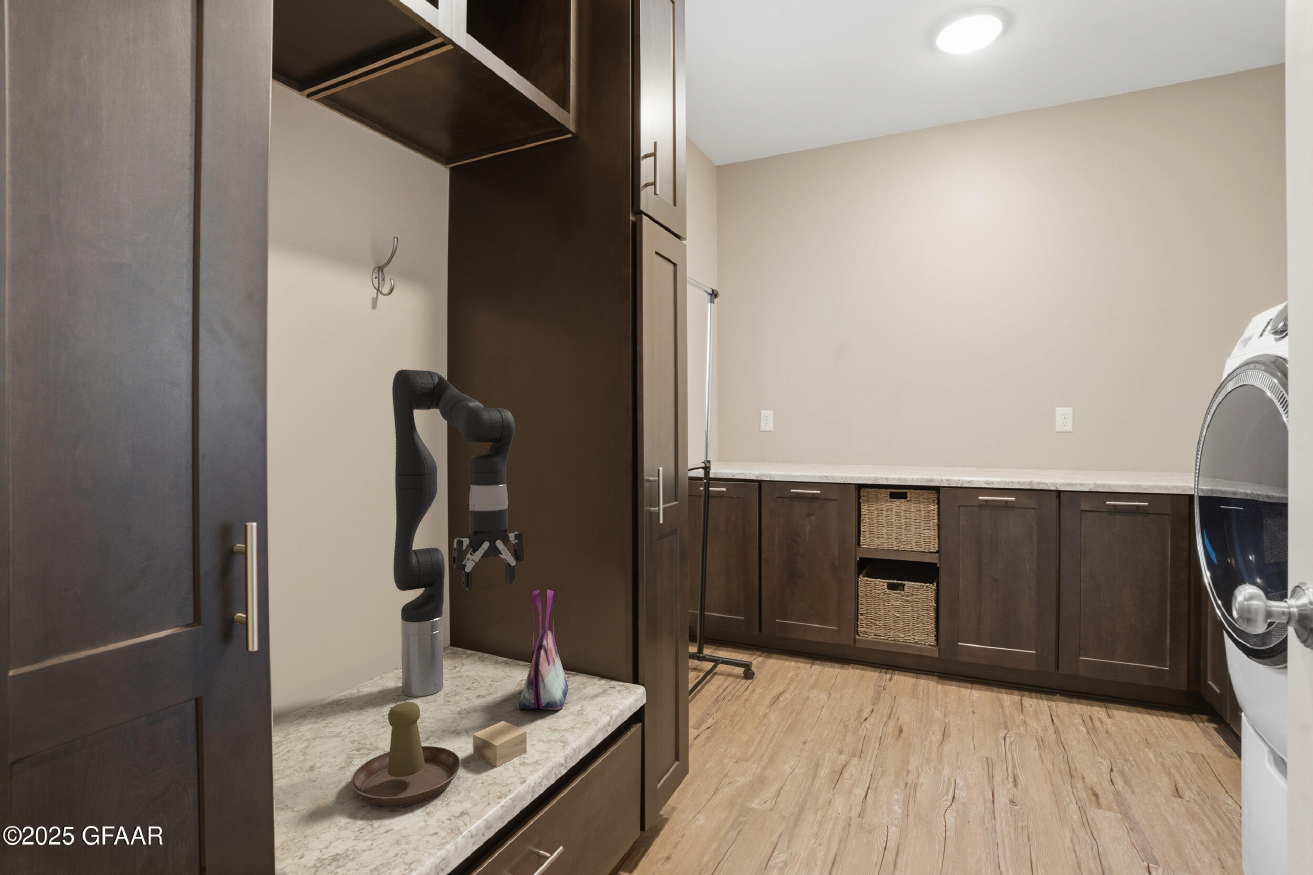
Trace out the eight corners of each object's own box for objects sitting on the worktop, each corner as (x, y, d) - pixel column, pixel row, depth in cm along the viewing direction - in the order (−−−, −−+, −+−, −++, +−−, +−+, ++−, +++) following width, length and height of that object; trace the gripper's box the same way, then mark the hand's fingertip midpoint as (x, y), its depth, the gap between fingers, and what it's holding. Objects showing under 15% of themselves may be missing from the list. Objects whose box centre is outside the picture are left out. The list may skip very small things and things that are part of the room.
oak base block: (473, 755, 122) (472, 734, 122) (502, 741, 128) (502, 721, 128) (496, 767, 118) (496, 745, 118) (526, 751, 124) (526, 730, 123)
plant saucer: (421, 751, 125) (421, 735, 125) (481, 779, 115) (481, 762, 115) (330, 793, 111) (330, 775, 111) (390, 830, 100) (390, 810, 100)
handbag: (530, 682, 158) (529, 579, 158) (571, 681, 158) (570, 579, 158) (512, 721, 136) (511, 603, 136) (560, 720, 137) (559, 602, 136)
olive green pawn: (409, 779, 109) (406, 713, 109) (379, 775, 111) (377, 710, 111) (432, 761, 114) (429, 699, 115) (403, 758, 116) (401, 696, 116)
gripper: (513, 502, 138) (514, 578, 139) (447, 507, 130) (447, 587, 130) (529, 505, 132) (529, 585, 133) (460, 511, 124) (460, 595, 124)
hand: (488, 586), depth 131 cm, fingers open, 8 cm apart
